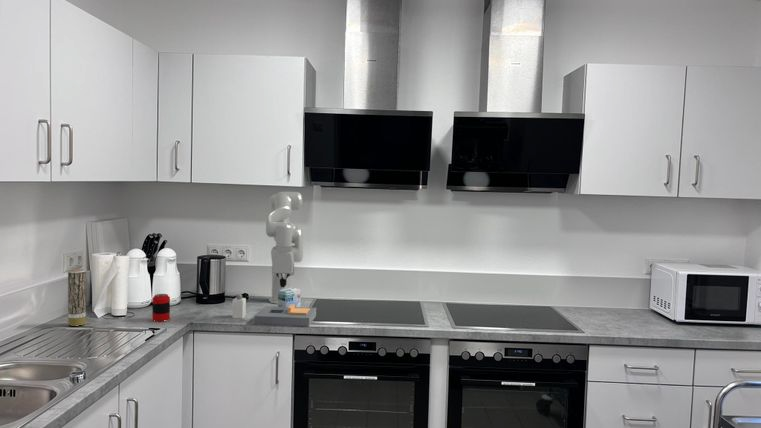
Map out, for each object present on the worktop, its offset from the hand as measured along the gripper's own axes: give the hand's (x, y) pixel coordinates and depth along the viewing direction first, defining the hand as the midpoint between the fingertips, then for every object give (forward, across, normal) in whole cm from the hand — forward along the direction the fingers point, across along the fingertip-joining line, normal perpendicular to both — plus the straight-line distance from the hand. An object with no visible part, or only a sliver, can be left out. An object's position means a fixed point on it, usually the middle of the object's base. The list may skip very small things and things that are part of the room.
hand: (283, 286), depth 252 cm
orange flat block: (+12, +8, -1) cm, 14 cm away
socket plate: (+16, +2, -1) cm, 16 cm away
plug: (+16, -22, +1) cm, 27 cm away
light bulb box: (+17, -1, +19) cm, 26 cm away
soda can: (+16, -56, -10) cm, 59 cm away
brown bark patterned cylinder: (+16, -88, -23) cm, 93 cm away
